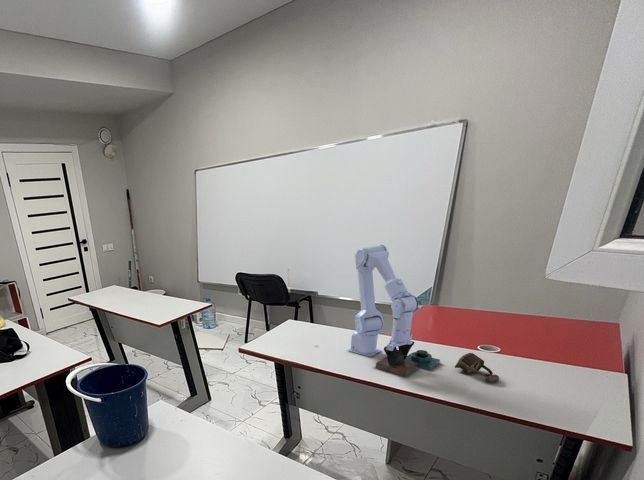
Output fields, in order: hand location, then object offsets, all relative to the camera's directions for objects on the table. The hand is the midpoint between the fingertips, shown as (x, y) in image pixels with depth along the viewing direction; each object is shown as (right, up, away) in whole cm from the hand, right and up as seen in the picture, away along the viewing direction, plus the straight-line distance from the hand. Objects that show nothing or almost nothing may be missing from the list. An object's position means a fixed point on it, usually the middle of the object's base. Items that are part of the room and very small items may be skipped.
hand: (397, 362), depth 136 cm
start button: (+10, +2, +2) cm, 11 cm away
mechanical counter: (+22, -5, -10) cm, 24 cm away
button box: (+11, -1, +3) cm, 11 cm away
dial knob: (0, 0, 0) cm, 0 cm away
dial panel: (0, -3, +1) cm, 3 cm away
